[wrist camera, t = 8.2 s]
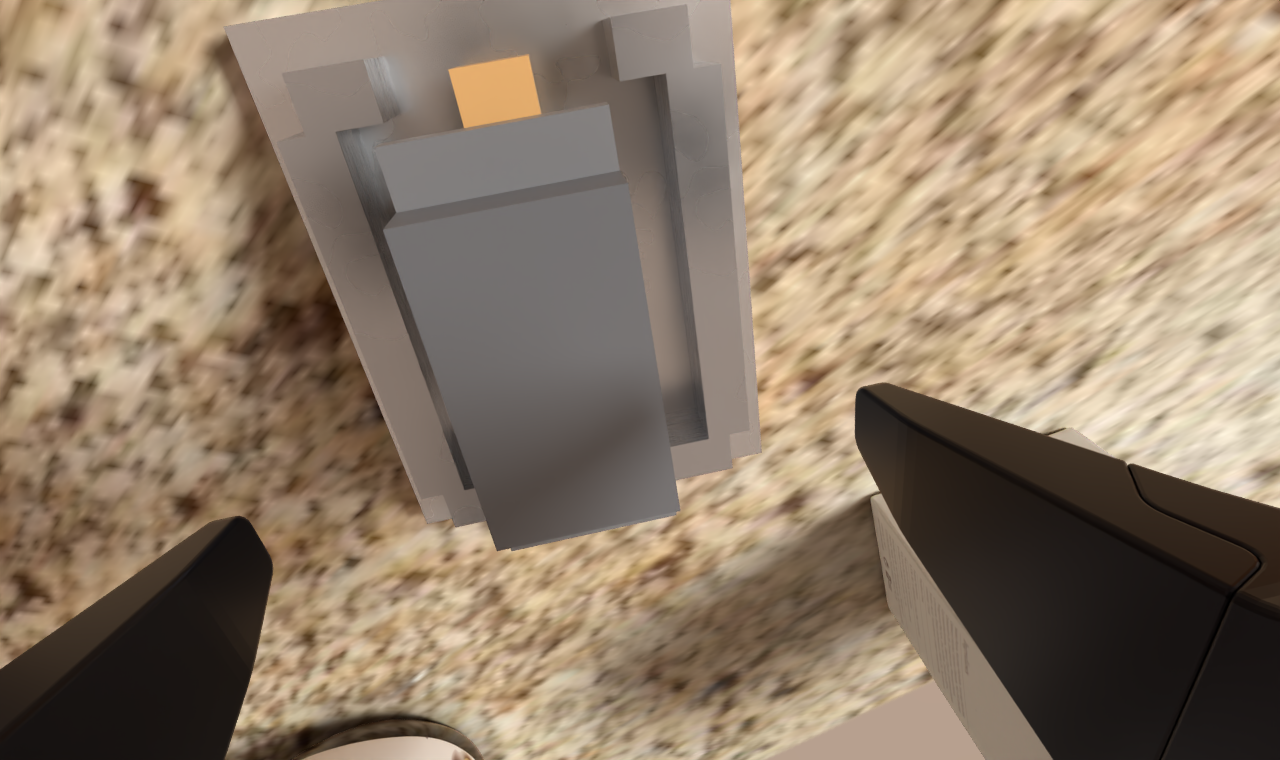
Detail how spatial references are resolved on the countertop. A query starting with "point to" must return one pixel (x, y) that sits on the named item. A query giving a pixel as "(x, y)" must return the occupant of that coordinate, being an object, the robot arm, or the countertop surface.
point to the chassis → (564, 78)
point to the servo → (533, 308)
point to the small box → (955, 641)
